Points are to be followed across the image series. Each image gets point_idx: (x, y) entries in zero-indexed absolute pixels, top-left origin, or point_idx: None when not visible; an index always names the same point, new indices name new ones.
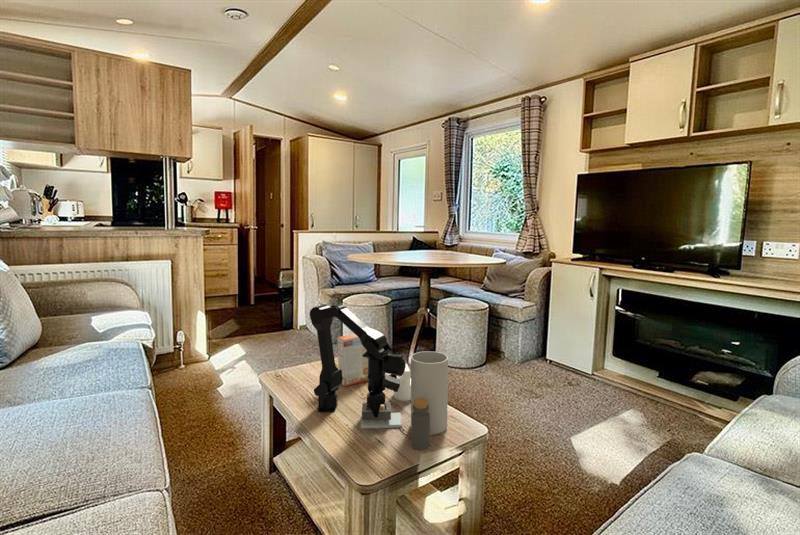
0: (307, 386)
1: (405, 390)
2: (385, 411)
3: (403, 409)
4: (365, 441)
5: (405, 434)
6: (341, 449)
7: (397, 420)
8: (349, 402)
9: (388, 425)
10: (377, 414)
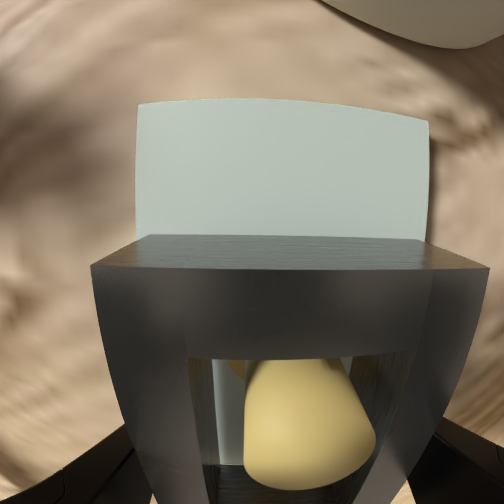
0: (8, 497)
1: None
2: (462, 354)
3: (45, 97)
4: (494, 382)
5: (495, 125)
6: None
7: (341, 146)
8: (34, 452)
9: None
10: (439, 423)
